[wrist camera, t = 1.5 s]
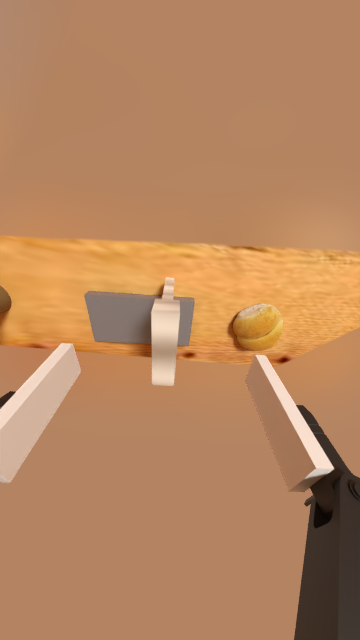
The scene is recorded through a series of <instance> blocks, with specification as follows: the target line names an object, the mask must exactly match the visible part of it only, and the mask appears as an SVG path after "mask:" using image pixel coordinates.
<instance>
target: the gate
mask: <svg viewBox="0 0 360 640" xmlns="http://www.w3.org/2000/svg"><path fill="white" fill-rule="evenodd" d="M173 294H174V278H169V277H166V280H165V285H164V290H163V295H162V299H155V301H154V304H153V308H152V312H151V328H152V385H166V386H174V375H175V365H176V353H177V342H178V331H179V319H180V300H173Z"/></svg>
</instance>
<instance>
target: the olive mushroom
mask: <svg viewBox="0 0 360 640" xmlns="http://www.w3.org/2000/svg"><path fill="white" fill-rule="evenodd" d="M10 307H11V299H10V296H9V295H8V293H7V292H6V291H5V290H4V289H3V288H2V287H1V286H0V313H2V312H4V311H7V310H9V308H10Z"/></svg>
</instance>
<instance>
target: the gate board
mask: <svg viewBox="0 0 360 640" xmlns="http://www.w3.org/2000/svg"><path fill="white" fill-rule="evenodd" d="M85 299H86V304H87V308H88V313H89V317H90V322H91V326H92V330H93V335H94V339H95V341H103V342H121V343H140V344H152V328H151V312H152V308H153V304H154V301H155V299H162V296H155V295H140V294H125V293H111V292H96V291H88V292H87V293H86V294H85ZM173 300H180V319H179V331H178V342H177V346H189V340H190V333H191V325H192V318H193V310H194V303H195V302H194V298H185V297H173Z"/></svg>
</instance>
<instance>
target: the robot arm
mask: <svg viewBox="0 0 360 640" xmlns="http://www.w3.org/2000/svg"><path fill="white" fill-rule="evenodd" d="M80 373H81V369H80V366H79V362H78V359H77V356H76V353H75V349H74V346H73V344H66V343H61V344H60V346H59V347H58V348H57V349H56V350H55V351H54V352H53V353H52V354H51V355H50V356H49V357H48V358H47V360H46V361H45V362H44V363H43V364H42V365H41V366H40V367H39V368H38V369H37V370H36V371H35V372H34V373H33V375H32V376H31V377H30V378H29V379H28V380H27V381H26V382H25V383H24V384H23V385H22V386H21V387H20V388H19V390H18V391H17V392H11V391H10V392H9V393H7V394H6V395H4V396H3V397H1V398H0V483H10V482H11V481H12V479H13V478H14V476H15V474H16V473H17V471H18V469H19V468H20V466H21V465H22V463H23V462H24V460H25V459H26V457H27V456H28V454H29V452H30V451H31V449H32V448H33V446H34V445H35V443H36V441H37V440H38V438H39V437H40V435H41V434H42V432H43V431H44V429H45V427H46V425H47V424H48V423H49V421H50V420H51V418H52V416H53V415H54V413H55V412H56V410H57V409H58V407H59V405H60V404H61V402H62V401H63V399H64V398H65V396H66V394H67V393H68V391H69V390H70V388H71V387H72V385H73V384H74V382H75V380H76V379H77V377H78V376H79V374H80ZM245 381H246V384H247V386H248V389H249V391H250V394H251V396H252V399H253V402H254V404H255V407H256V409H257V412H258V414H259V417H260V419H261V422H262V424H263V427H264V429H265V432H266V435H267V437H268V440H269V442H270V445H271V447H272V450H273V452H274V455H275V458H276V460H277V463H278V465H279V468H280V470H281V473H282V475H283V478H284V480H285V483H286V486H287V488H288V491H291V492H292V491H293V492H305V491H306V490H307V489H308V488H310V489H311V491H312V493H313V496H311V497H310V498H308V499H307V500H306V501H305V503H304V504H305V505H306V506H308V505H310V504H311V508H310V515H309V523H308V531H307V540H306V548H305V556H304V564H303V572H302V580H301V589H300V596H299V605H298V613H297V621H296V629H295V637H294V640H360V478H359V477H356V476H355V475H353V474H352V473H351V472H350V470H349V469H348V468H347V466H346V465H345V463H344V462H343V461H342V459H341V457H340V456H339V454H338V453H337V451H336V450H335V448H334V447H333V446H332V444H331V442H330V441H329V439H328V438H327V436H326V435H325V434H324V432H323V430H322V429H321V427H320V426H319V425H318V423H317V421H316V420H315V418H314V416H313V415H312V414H311V413H310V412H309V411H308V410H307V409H306V408H305V407H304V406H303V405H295V403H294V402H293V400H292V398H291V397H290V395H289V393H288V392H287V390H286V389H285V387H284V385H283V384H282V382H281V380H280V379H279V377H278V375H277V374H276V372H275V371H274V369H273V367H272V365H271V364H270V362H269V361H268V359H267V357H266V356H265V355H255V357H254V359H253V362H252V364H251V367H250V370H249V372H248V374H247V377H246V379H245Z"/></svg>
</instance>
